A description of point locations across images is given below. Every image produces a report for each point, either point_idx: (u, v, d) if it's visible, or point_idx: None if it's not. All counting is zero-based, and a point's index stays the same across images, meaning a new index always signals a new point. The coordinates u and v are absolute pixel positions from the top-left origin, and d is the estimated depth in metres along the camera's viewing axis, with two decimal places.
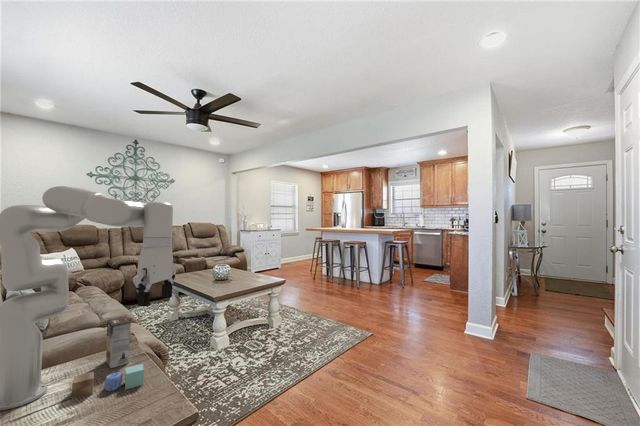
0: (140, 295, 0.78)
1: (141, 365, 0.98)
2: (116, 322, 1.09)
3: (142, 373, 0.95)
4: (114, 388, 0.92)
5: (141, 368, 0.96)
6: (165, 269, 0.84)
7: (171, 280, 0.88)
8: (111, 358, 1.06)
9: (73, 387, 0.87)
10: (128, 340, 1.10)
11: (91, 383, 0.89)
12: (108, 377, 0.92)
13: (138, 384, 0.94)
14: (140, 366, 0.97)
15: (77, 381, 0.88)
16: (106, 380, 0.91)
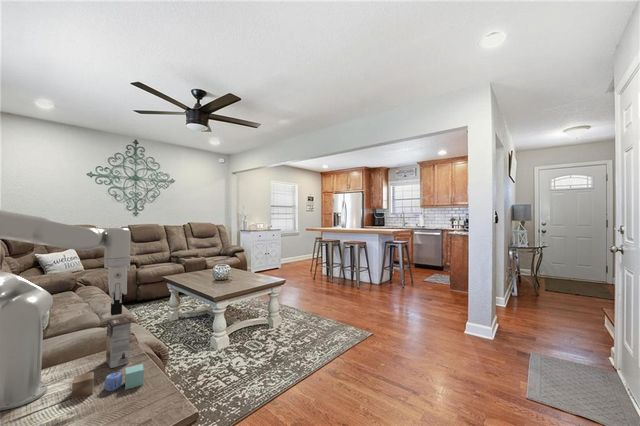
0: None
1: (141, 365, 0.98)
2: (116, 322, 1.09)
3: (142, 373, 0.95)
4: (114, 388, 0.92)
5: (141, 368, 0.96)
6: None
7: (112, 300, 0.99)
8: (111, 358, 1.06)
9: (73, 387, 0.87)
10: (128, 340, 1.10)
11: (91, 383, 0.89)
12: (108, 377, 0.92)
13: (138, 384, 0.94)
14: (140, 366, 0.97)
15: (77, 381, 0.88)
16: (106, 380, 0.91)
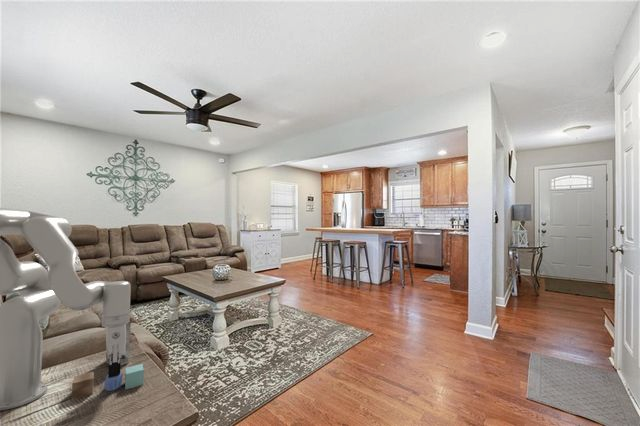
0: None
1: (141, 365, 0.98)
2: None
3: (142, 373, 0.95)
4: (114, 388, 0.92)
5: (141, 368, 0.96)
6: None
7: None
8: None
9: (73, 387, 0.87)
10: (128, 340, 1.10)
11: (91, 383, 0.89)
12: (108, 377, 0.92)
13: (138, 384, 0.94)
14: (140, 366, 0.97)
15: (77, 381, 0.88)
16: (106, 380, 0.91)
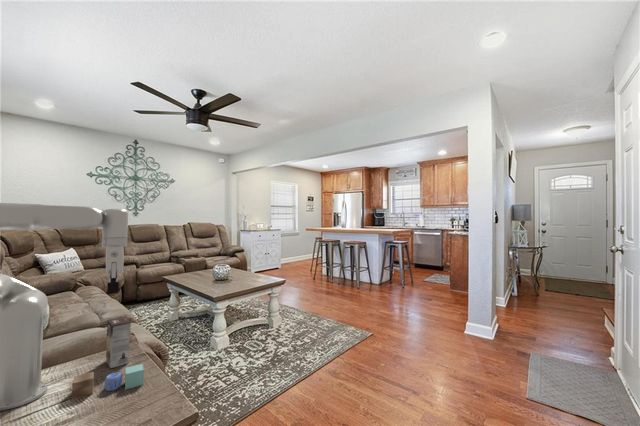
0: None
1: (141, 365, 0.98)
2: (116, 322, 1.09)
3: (142, 373, 0.95)
4: (114, 388, 0.92)
5: (141, 368, 0.96)
6: None
7: None
8: (111, 358, 1.06)
9: (73, 387, 0.87)
10: (128, 340, 1.10)
11: (91, 383, 0.89)
12: (108, 377, 0.92)
13: (138, 384, 0.94)
14: (140, 366, 0.97)
15: (77, 381, 0.88)
16: (106, 380, 0.91)
